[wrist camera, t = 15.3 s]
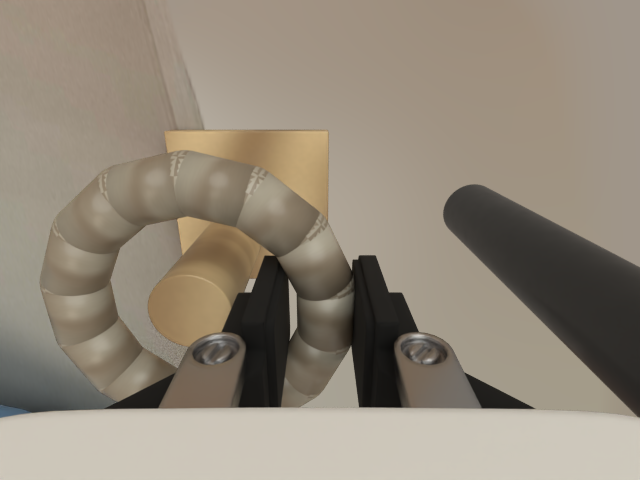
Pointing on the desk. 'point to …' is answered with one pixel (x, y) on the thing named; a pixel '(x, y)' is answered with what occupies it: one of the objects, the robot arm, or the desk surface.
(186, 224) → the post
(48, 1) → the desk surface
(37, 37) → the desk surface
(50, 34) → the desk surface
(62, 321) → the segmented ring
